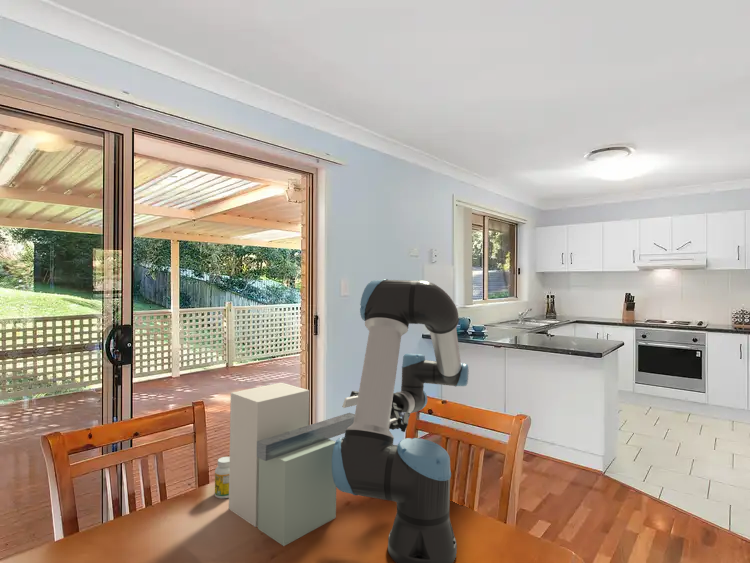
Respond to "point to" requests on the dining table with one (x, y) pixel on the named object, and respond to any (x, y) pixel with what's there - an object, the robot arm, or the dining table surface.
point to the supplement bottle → (222, 478)
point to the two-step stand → (278, 465)
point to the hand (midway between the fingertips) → (363, 414)
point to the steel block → (303, 437)
